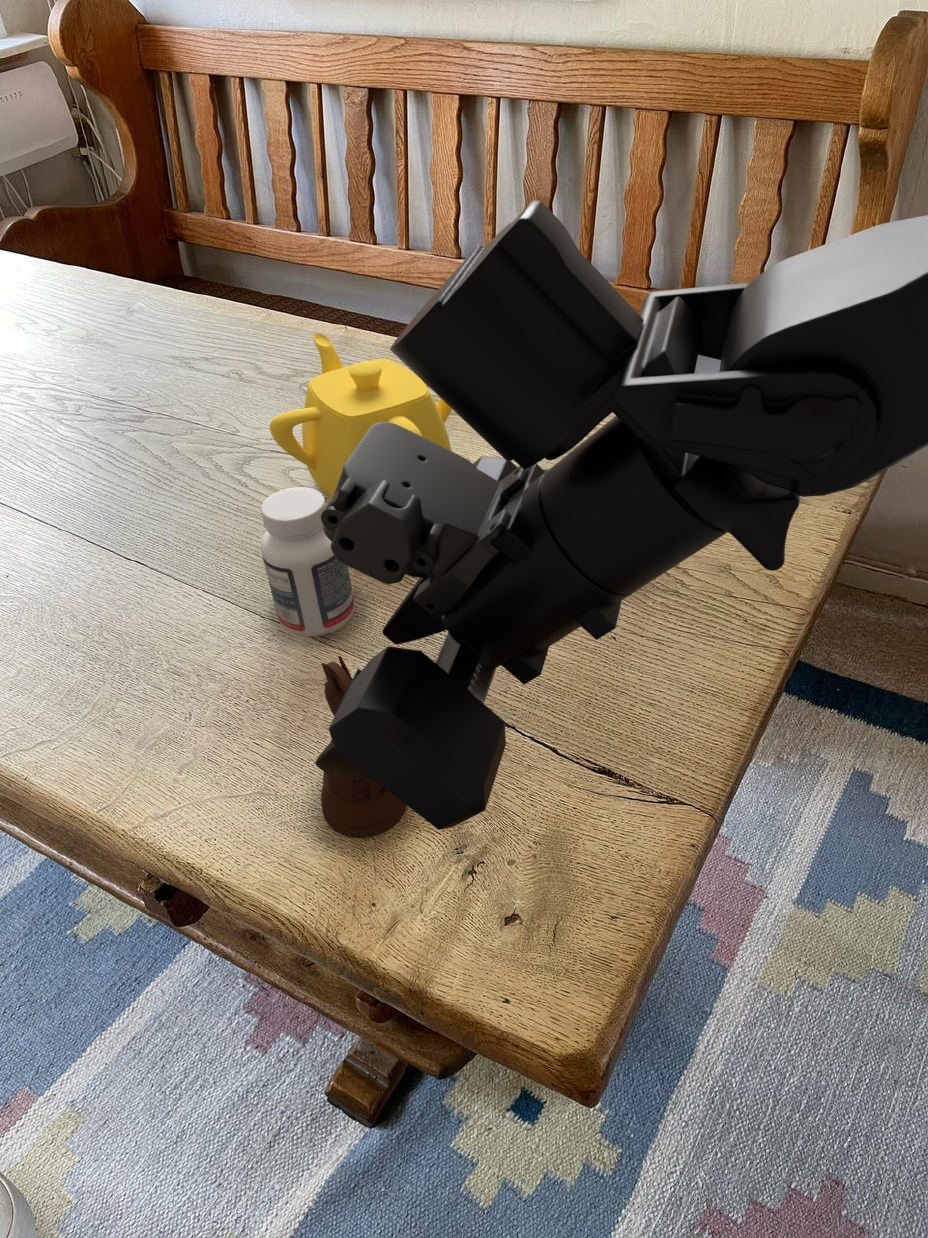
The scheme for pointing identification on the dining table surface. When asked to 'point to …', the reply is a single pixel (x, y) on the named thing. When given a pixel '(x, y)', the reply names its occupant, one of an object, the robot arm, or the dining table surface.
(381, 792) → the chess piece
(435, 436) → the teapot
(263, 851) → the dining table surface
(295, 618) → the pill bottle
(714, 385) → the robot arm
